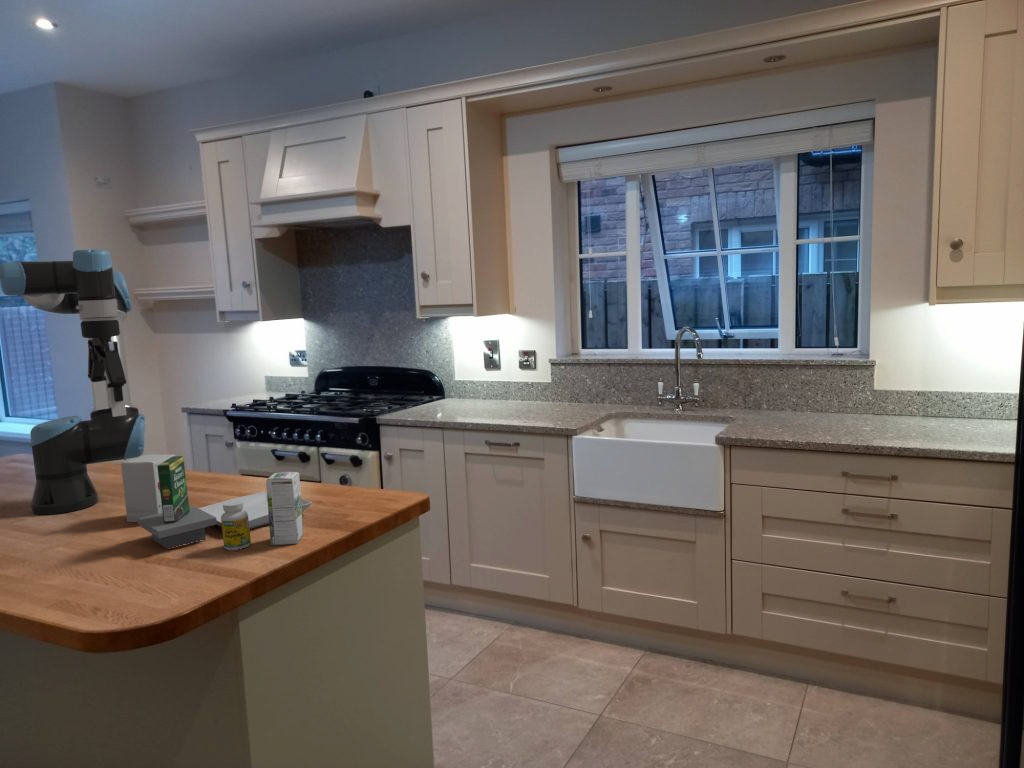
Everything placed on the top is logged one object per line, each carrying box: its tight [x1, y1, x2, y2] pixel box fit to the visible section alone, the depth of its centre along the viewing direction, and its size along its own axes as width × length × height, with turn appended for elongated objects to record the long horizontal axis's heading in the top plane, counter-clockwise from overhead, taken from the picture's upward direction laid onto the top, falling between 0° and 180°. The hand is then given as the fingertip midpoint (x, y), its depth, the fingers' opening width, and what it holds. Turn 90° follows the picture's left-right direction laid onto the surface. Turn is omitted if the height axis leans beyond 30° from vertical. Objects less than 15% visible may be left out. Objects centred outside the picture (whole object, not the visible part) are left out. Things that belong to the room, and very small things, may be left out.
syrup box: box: [265, 471, 304, 546], centre depth 157 cm, size 6×6×14 cm
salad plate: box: [198, 490, 313, 530], centre depth 176 cm, size 21×21×3 cm
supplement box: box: [120, 453, 177, 523], centre depth 179 cm, size 9×9×15 cm
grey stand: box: [137, 505, 217, 550], centre depth 162 cm, size 14×12×5 cm
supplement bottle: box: [221, 500, 252, 551], centre depth 155 cm, size 5×5×10 cm
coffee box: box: [157, 455, 190, 523], centre depth 161 cm, size 8×3×13 cm, turn 2°
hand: (110, 412), depth 168 cm, fingers open, 13 cm apart
